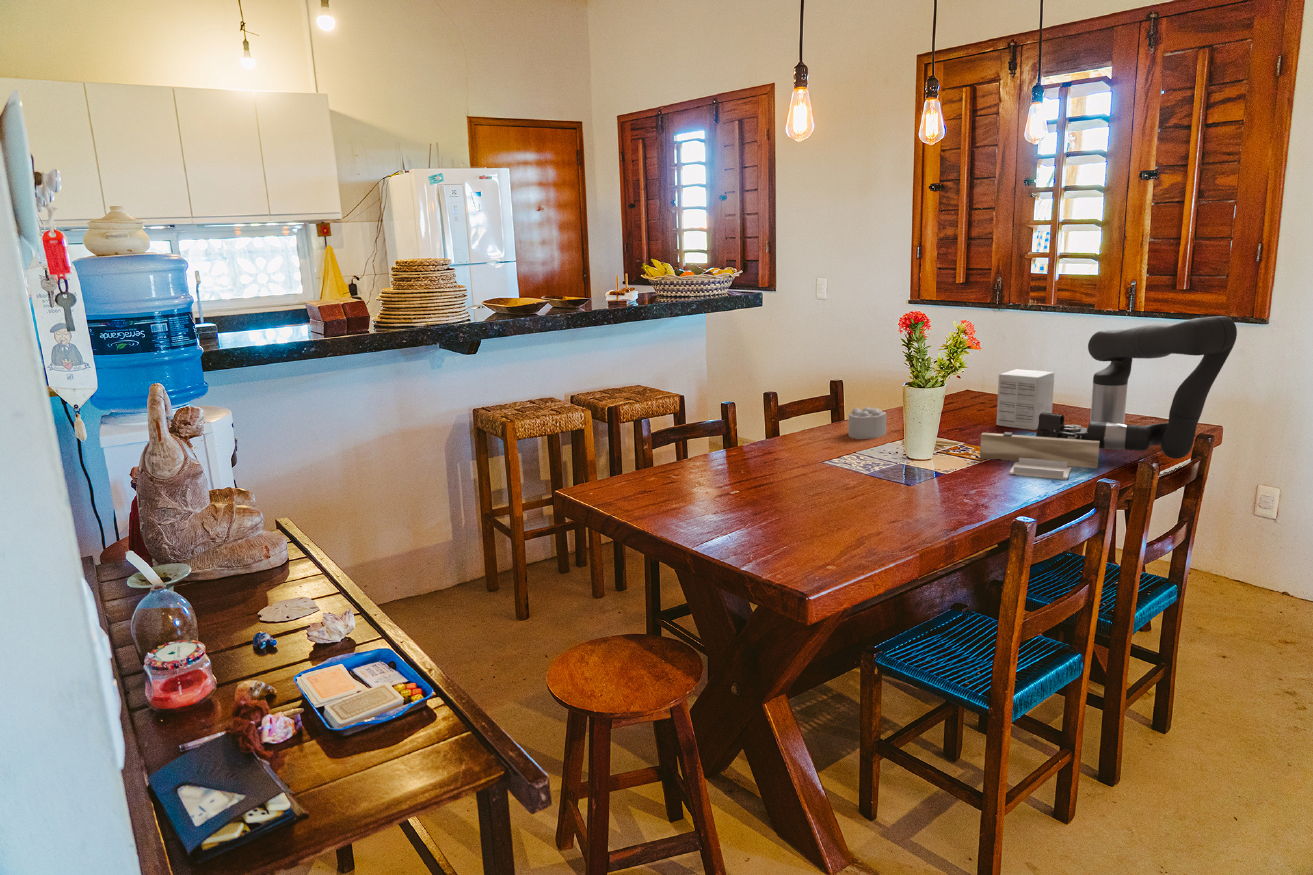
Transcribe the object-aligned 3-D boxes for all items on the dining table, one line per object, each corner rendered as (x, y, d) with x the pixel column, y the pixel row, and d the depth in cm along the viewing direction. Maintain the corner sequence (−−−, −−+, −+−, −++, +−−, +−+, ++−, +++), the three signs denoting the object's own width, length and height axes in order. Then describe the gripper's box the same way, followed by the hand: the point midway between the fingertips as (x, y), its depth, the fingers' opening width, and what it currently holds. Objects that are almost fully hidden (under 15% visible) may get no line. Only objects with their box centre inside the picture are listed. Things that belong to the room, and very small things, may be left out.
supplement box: (1013, 418, 285) (1015, 368, 281) (1052, 423, 276) (1055, 371, 272) (995, 425, 277) (997, 373, 273) (1034, 430, 267) (1038, 377, 263)
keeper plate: (1015, 464, 230) (1015, 456, 230) (1071, 469, 223) (1071, 461, 222) (1009, 474, 221) (1009, 466, 221) (1067, 479, 214) (1067, 471, 213)
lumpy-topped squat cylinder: (890, 433, 273) (890, 407, 271) (867, 441, 264) (868, 414, 262) (863, 429, 280) (863, 404, 278) (840, 436, 272) (840, 410, 270)
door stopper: (1046, 449, 243) (1049, 410, 241) (1067, 453, 239) (1069, 412, 236) (1031, 455, 238) (1033, 415, 235) (1051, 459, 233) (1054, 417, 231)
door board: (981, 455, 240) (982, 430, 238) (1097, 465, 225) (1099, 438, 223) (979, 458, 238) (981, 432, 236) (1097, 468, 223) (1099, 441, 221)
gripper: (1109, 417, 235) (1043, 413, 244) (1106, 427, 223) (1036, 423, 232) (1107, 443, 236) (1041, 438, 245) (1104, 454, 225) (1035, 449, 234)
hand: (1039, 431), depth 239 cm, fingers closed on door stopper, 3 cm apart
